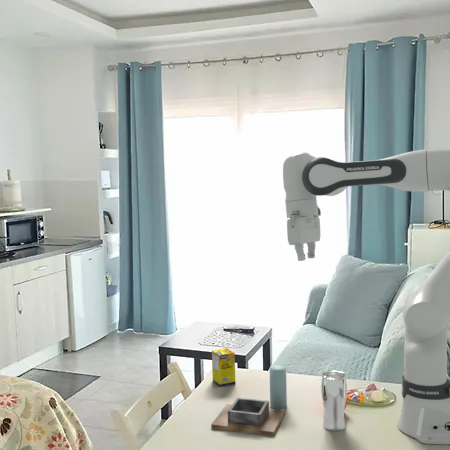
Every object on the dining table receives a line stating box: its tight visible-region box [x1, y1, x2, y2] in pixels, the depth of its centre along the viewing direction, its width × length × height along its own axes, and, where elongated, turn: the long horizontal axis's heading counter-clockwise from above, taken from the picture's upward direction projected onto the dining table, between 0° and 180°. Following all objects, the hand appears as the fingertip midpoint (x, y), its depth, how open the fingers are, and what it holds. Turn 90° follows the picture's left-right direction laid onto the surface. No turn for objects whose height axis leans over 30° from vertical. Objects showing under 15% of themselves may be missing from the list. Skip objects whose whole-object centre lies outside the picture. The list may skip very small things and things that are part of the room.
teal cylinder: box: [269, 364, 288, 410], centre depth 176 cm, size 5×5×12 cm
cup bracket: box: [210, 397, 286, 437], centre depth 167 cm, size 18×14×5 cm
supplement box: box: [211, 347, 236, 387], centre depth 196 cm, size 6×6×11 cm
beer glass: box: [320, 369, 348, 432], centre depth 162 cm, size 7×7×15 cm
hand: (306, 259), depth 165 cm, fingers open, 8 cm apart
